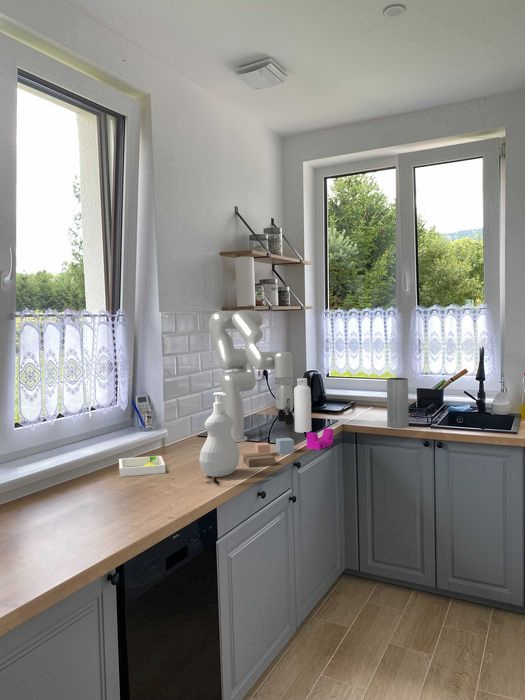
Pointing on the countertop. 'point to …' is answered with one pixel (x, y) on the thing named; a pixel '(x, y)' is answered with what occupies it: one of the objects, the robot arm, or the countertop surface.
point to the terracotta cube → (262, 447)
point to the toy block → (324, 441)
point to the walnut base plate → (258, 459)
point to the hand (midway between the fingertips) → (285, 422)
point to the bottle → (302, 406)
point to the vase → (397, 403)
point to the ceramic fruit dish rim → (141, 469)
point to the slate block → (285, 445)
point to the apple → (150, 461)
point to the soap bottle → (219, 443)
